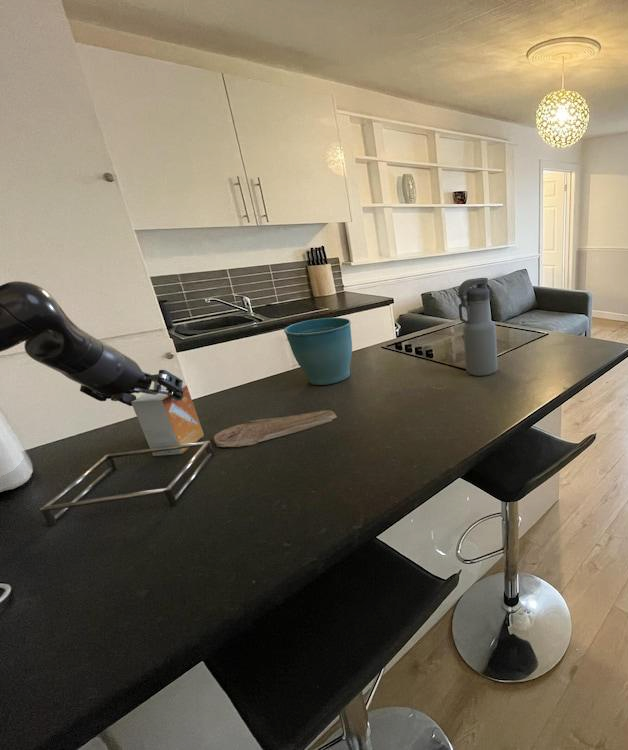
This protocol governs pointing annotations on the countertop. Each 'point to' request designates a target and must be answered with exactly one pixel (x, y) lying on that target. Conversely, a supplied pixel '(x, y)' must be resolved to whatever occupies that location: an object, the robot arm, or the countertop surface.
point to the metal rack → (168, 491)
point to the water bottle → (478, 328)
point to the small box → (168, 421)
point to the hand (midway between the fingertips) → (157, 398)
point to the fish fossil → (270, 428)
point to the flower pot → (322, 348)
